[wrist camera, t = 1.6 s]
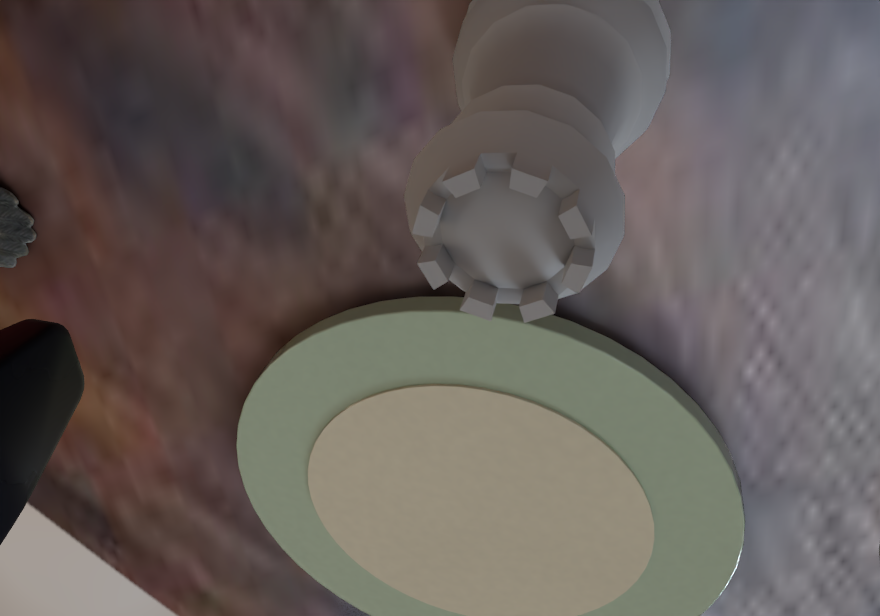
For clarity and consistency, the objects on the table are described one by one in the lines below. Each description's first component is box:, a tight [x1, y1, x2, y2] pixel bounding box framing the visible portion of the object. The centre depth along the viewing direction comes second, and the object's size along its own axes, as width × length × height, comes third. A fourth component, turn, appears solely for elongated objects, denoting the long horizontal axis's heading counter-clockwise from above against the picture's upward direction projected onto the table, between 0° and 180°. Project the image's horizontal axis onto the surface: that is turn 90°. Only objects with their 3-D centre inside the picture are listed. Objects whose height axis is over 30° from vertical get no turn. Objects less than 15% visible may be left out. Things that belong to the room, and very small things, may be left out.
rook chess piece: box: [404, 0, 671, 323], centre depth 14 cm, size 4×4×8 cm
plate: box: [236, 296, 745, 616], centre depth 26 cm, size 16×16×1 cm
